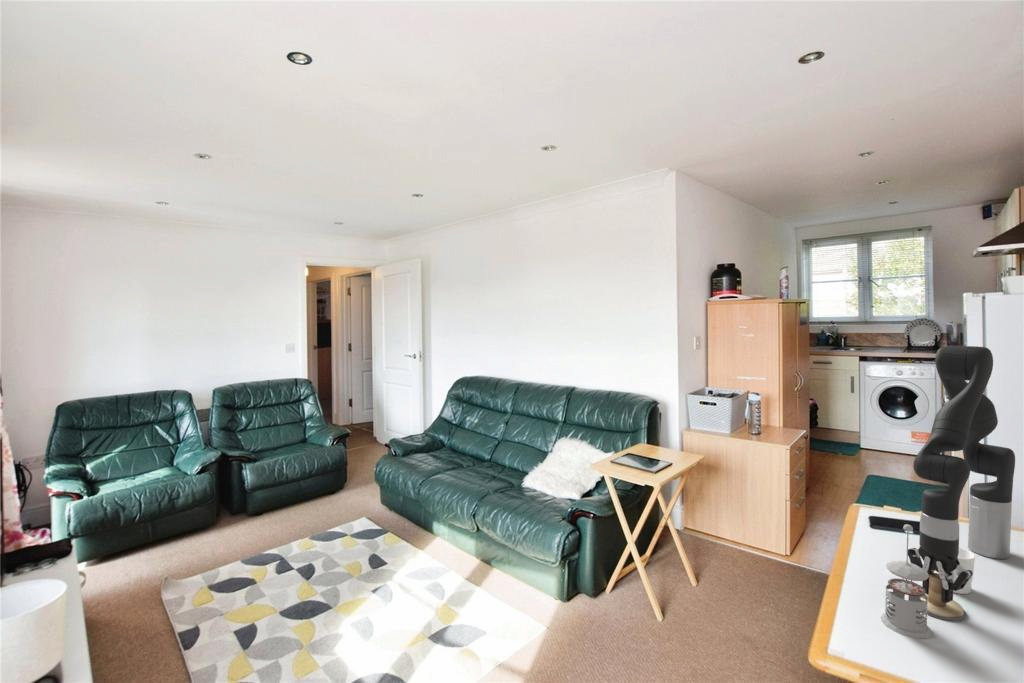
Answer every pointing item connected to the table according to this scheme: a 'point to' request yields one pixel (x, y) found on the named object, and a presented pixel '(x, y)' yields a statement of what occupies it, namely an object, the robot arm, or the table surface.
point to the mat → (948, 618)
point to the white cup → (967, 563)
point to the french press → (906, 612)
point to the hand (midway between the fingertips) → (937, 597)
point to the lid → (940, 600)
